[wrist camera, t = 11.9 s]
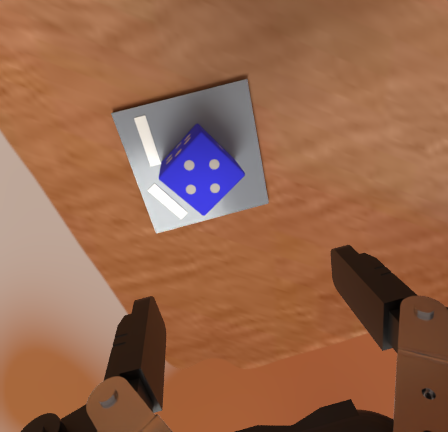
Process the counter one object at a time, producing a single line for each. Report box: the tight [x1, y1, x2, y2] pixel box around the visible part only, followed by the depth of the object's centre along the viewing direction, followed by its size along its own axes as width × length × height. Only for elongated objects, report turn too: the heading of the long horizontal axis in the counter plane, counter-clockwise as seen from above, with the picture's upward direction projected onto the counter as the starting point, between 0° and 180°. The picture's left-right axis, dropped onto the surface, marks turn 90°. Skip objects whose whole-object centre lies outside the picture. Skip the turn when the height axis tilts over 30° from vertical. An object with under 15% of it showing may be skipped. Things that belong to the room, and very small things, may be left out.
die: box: [159, 124, 245, 216], centre depth 26 cm, size 5×5×5 cm
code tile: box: [111, 79, 269, 233], centre depth 28 cm, size 12×12×1 cm
